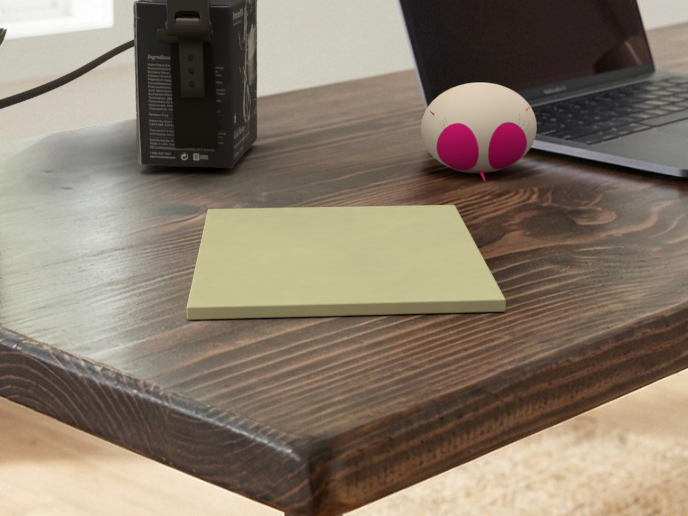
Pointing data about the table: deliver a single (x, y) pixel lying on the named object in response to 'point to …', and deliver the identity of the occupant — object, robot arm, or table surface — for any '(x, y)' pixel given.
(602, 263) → the table surface
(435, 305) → the mat
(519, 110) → the stress ball
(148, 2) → the box
